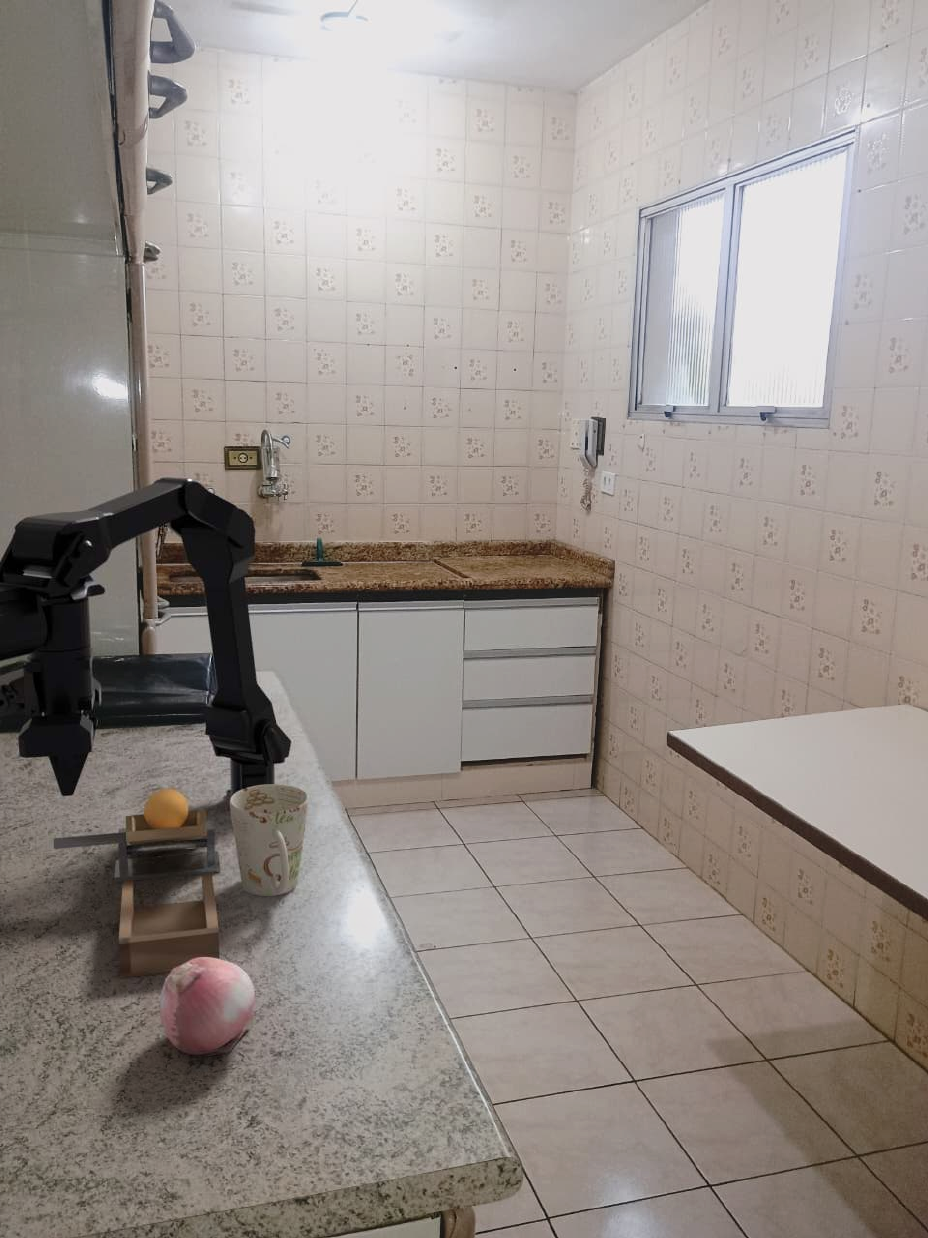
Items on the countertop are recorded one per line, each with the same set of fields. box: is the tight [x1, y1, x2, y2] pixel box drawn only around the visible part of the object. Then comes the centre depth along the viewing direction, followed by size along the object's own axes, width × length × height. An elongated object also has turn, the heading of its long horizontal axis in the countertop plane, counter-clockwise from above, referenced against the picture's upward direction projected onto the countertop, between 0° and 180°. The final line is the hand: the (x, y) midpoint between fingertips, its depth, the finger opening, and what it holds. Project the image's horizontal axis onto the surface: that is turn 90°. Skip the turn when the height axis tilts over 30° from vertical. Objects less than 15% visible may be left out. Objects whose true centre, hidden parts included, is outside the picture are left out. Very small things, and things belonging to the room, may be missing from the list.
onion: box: [158, 957, 256, 1058], centre depth 81 cm, size 8×8×7 cm
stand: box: [113, 820, 221, 884], centre depth 111 cm, size 4×11×5 cm, turn 107°
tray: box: [118, 873, 220, 979], centre depth 97 cm, size 13×9×3 cm
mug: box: [229, 783, 309, 897], centre depth 106 cm, size 8×13×10 cm, turn 25°
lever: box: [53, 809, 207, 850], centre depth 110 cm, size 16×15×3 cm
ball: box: [143, 788, 189, 829], centre depth 116 cm, size 5×5×5 cm
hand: (67, 794), depth 101 cm, fingers closed
